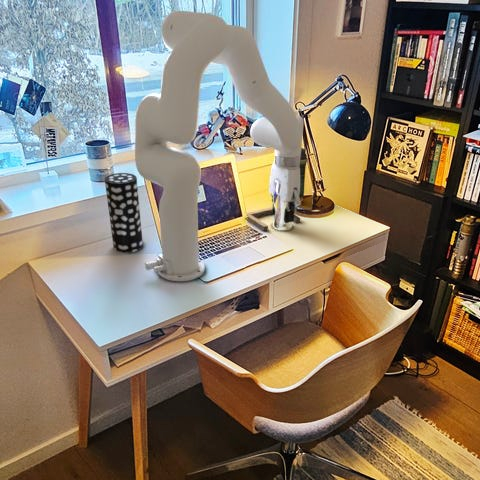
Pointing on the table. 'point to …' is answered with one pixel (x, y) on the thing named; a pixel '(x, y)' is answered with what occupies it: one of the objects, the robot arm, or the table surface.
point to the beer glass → (280, 209)
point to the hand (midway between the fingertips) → (282, 217)
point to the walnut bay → (261, 213)
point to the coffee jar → (302, 172)
